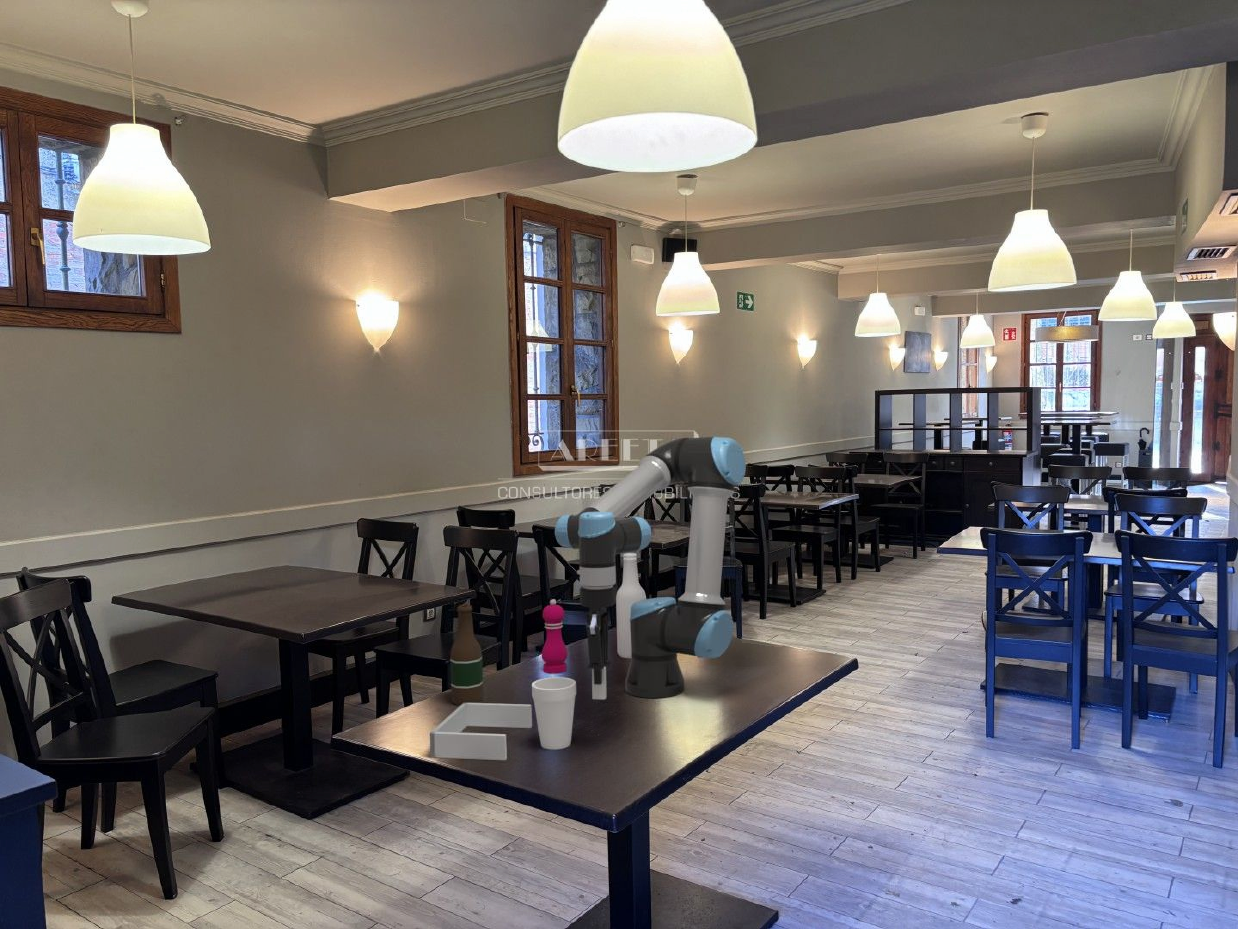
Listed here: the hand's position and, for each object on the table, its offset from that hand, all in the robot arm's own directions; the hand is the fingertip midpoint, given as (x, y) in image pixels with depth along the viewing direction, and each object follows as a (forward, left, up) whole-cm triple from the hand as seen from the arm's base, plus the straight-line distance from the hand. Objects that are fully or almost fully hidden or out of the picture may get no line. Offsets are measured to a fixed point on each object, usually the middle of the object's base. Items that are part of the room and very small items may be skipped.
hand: (599, 698), depth 179 cm
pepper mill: (+24, -55, -11) cm, 61 cm away
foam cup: (+10, 0, -11) cm, 14 cm away
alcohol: (+5, -73, -10) cm, 74 cm away
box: (+26, 0, -10) cm, 28 cm away
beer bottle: (+39, -26, -11) cm, 48 cm away
